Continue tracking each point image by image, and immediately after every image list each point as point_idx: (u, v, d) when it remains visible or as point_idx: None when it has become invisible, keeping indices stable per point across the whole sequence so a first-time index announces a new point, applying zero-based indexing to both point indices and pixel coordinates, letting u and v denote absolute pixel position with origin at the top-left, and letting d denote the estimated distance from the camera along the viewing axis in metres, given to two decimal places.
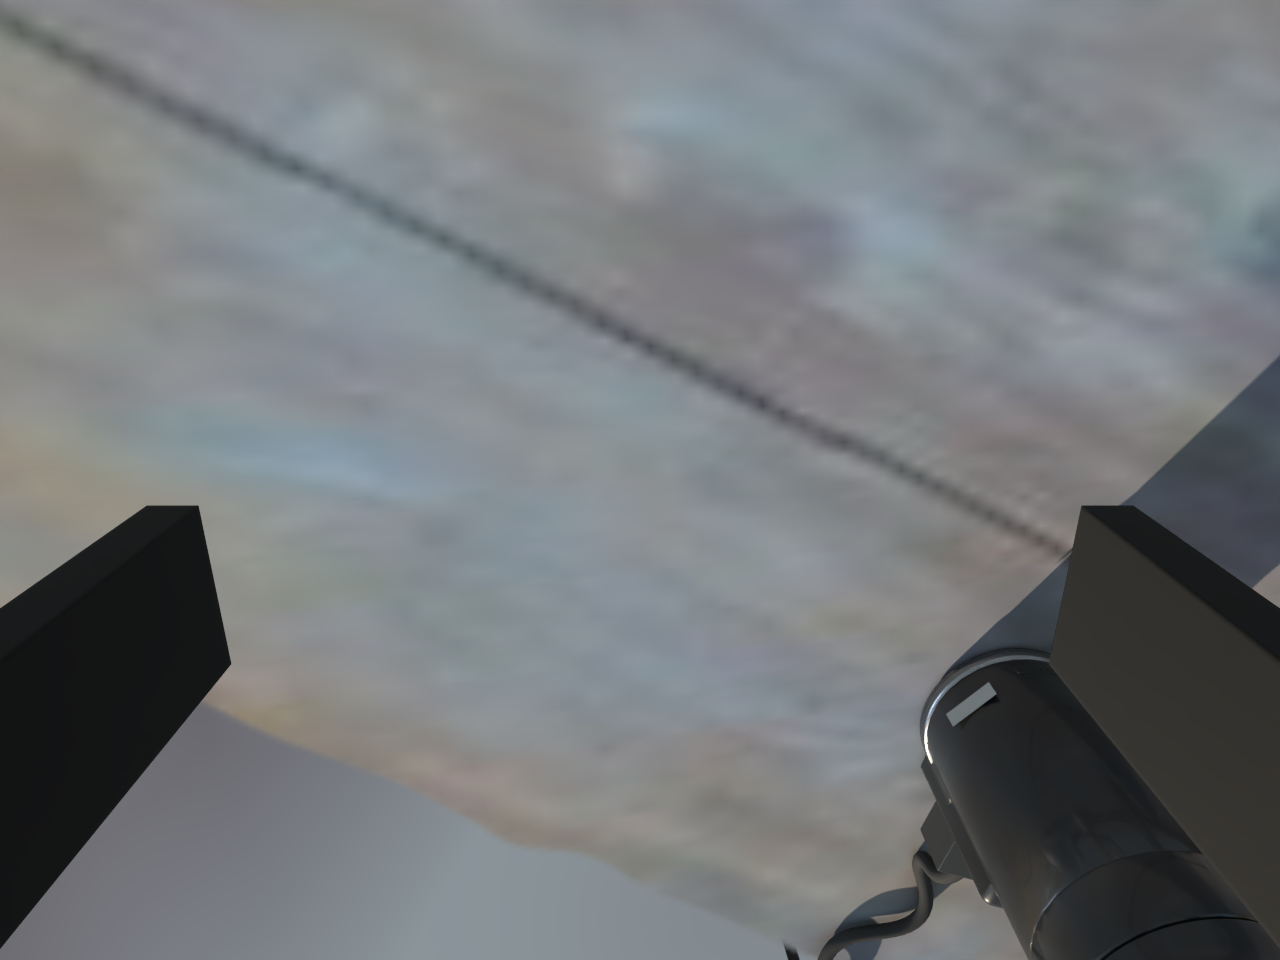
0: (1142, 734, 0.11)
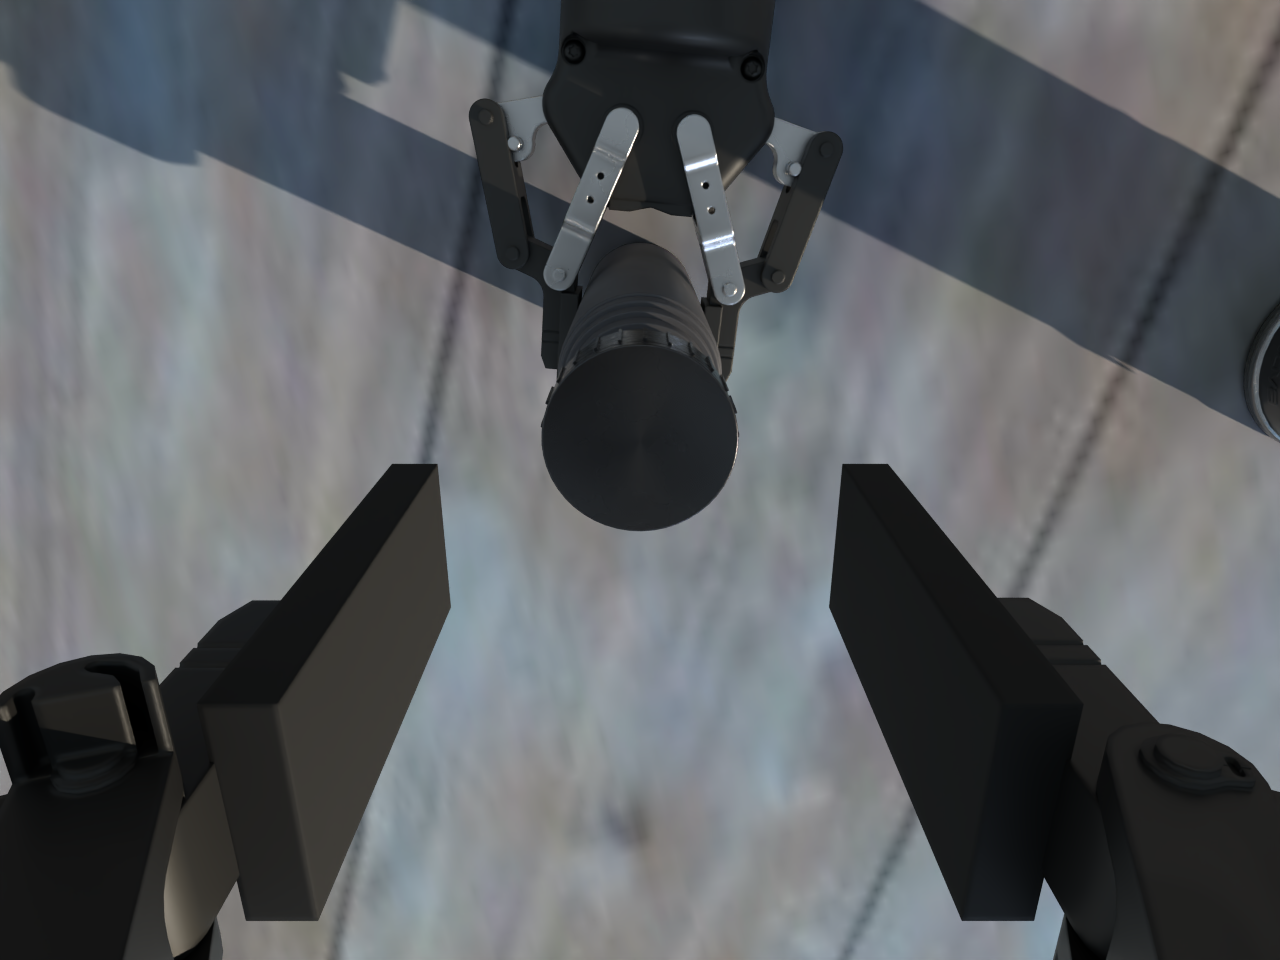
0: (866, 656, 0.12)
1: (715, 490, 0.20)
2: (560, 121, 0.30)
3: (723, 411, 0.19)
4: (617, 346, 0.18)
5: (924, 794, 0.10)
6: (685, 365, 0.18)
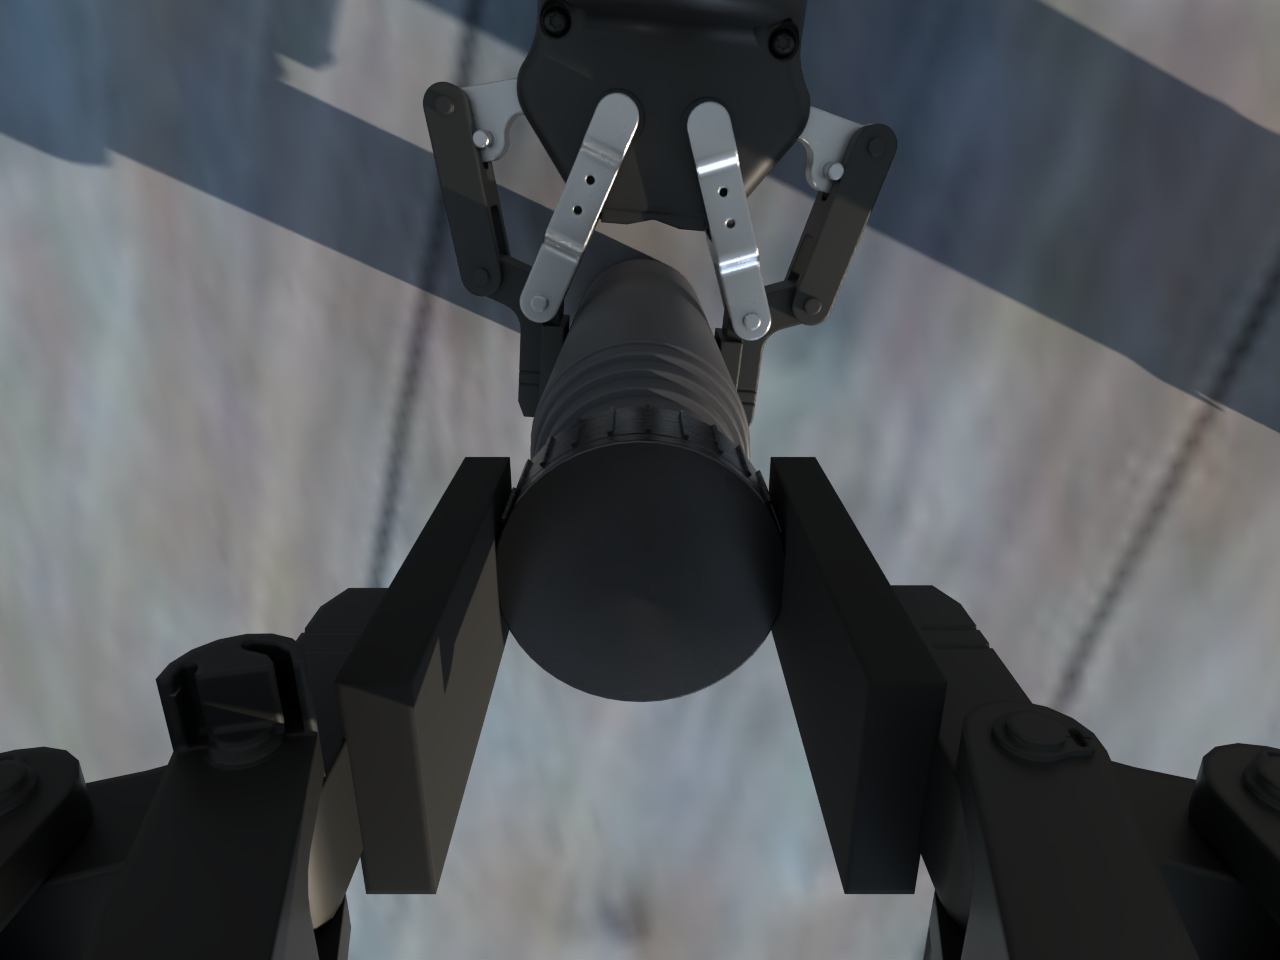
0: (785, 643, 0.13)
1: (751, 647, 0.13)
2: (539, 111, 0.24)
3: (765, 536, 0.13)
4: (606, 443, 0.12)
5: (822, 774, 0.10)
6: (709, 471, 0.12)
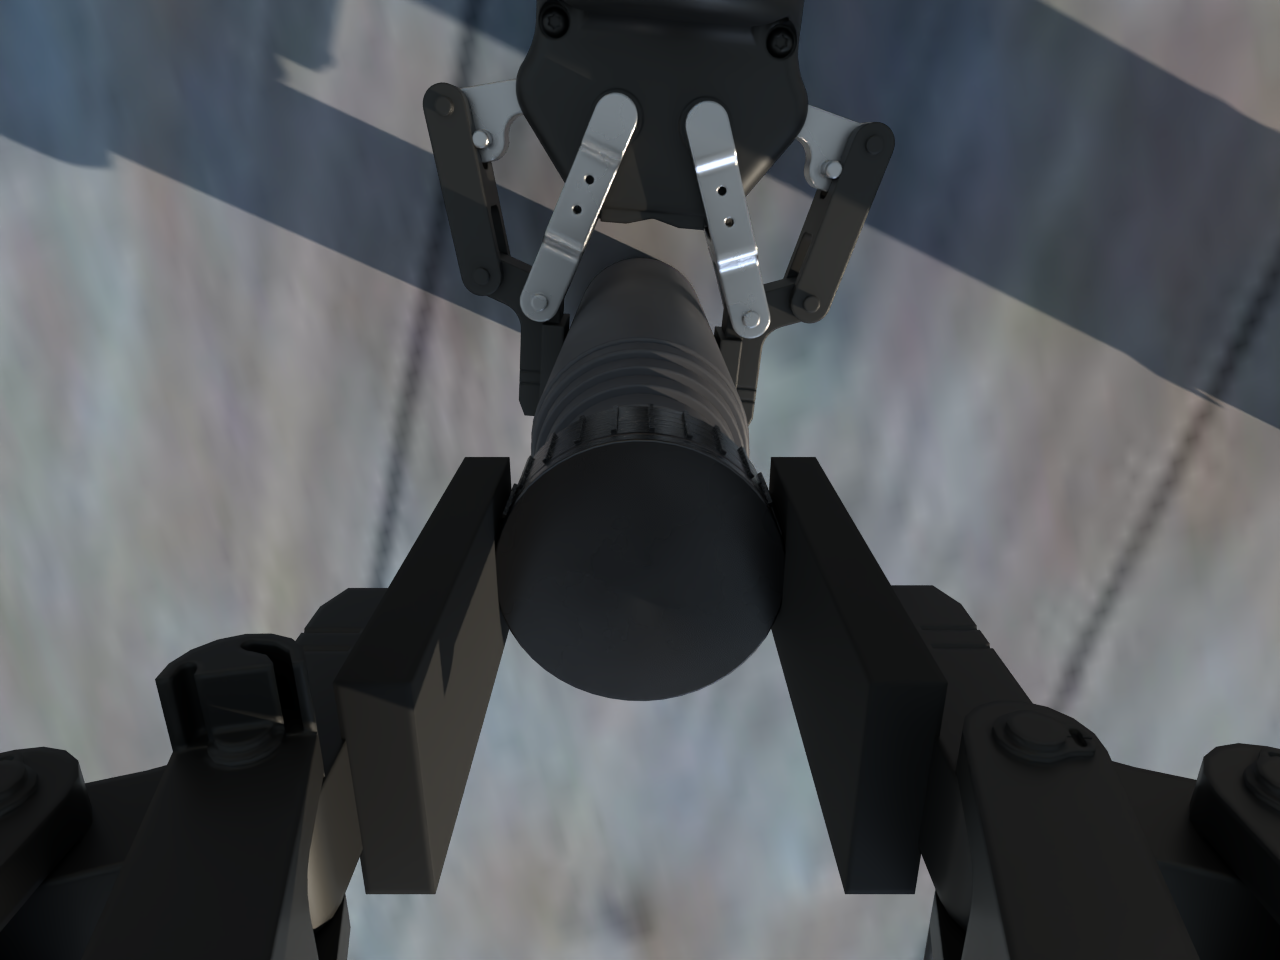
0: (786, 643, 0.13)
1: (666, 450, 0.12)
2: (538, 111, 0.24)
3: (543, 491, 0.12)
4: (527, 651, 0.13)
5: (822, 775, 0.10)
6: (506, 567, 0.13)
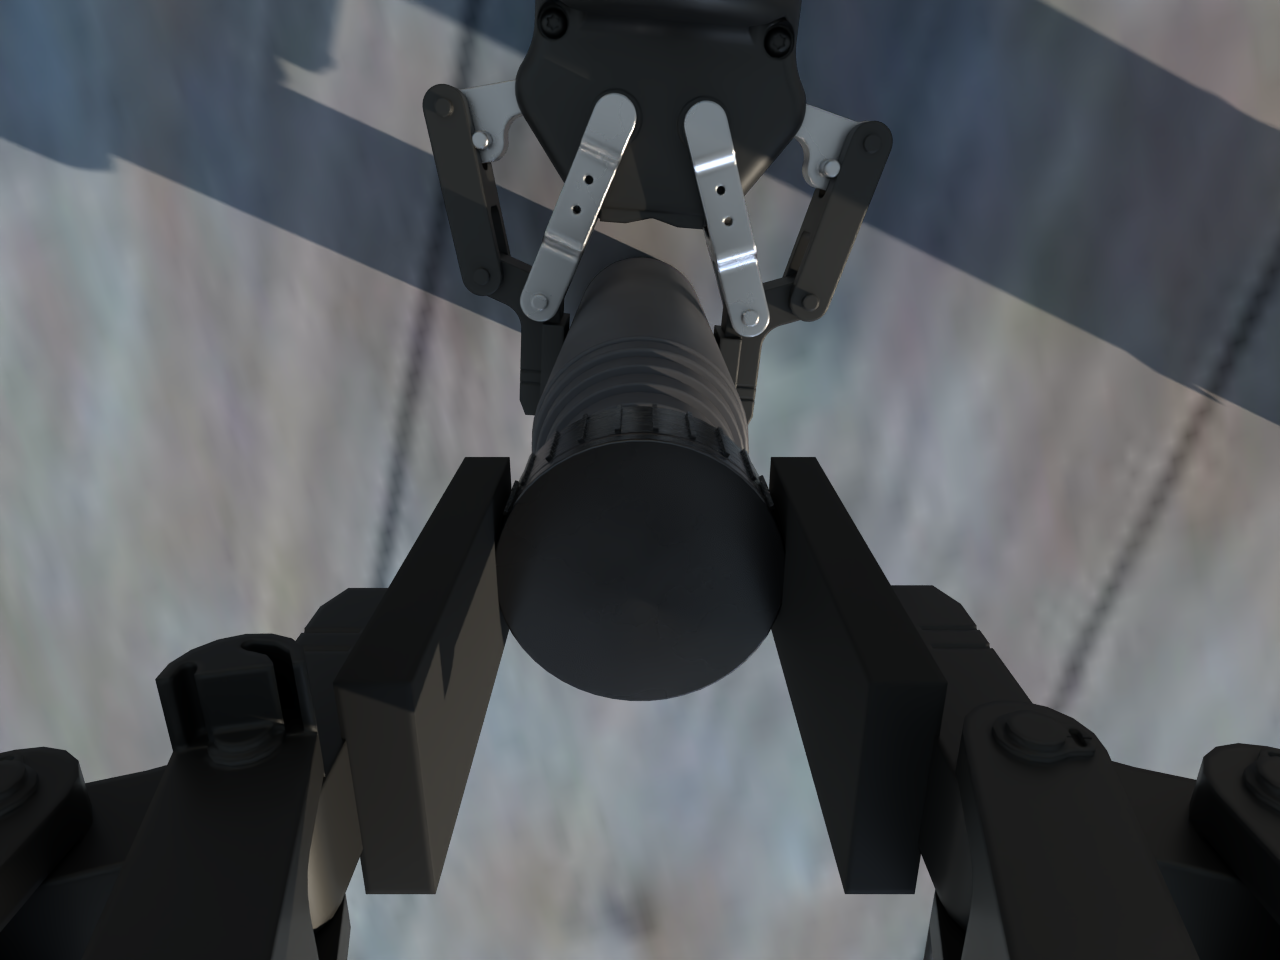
0: (786, 643, 0.13)
1: (507, 608, 0.13)
2: (537, 111, 0.24)
3: (594, 682, 0.13)
4: (762, 639, 0.13)
5: (822, 775, 0.10)
6: (679, 686, 0.13)
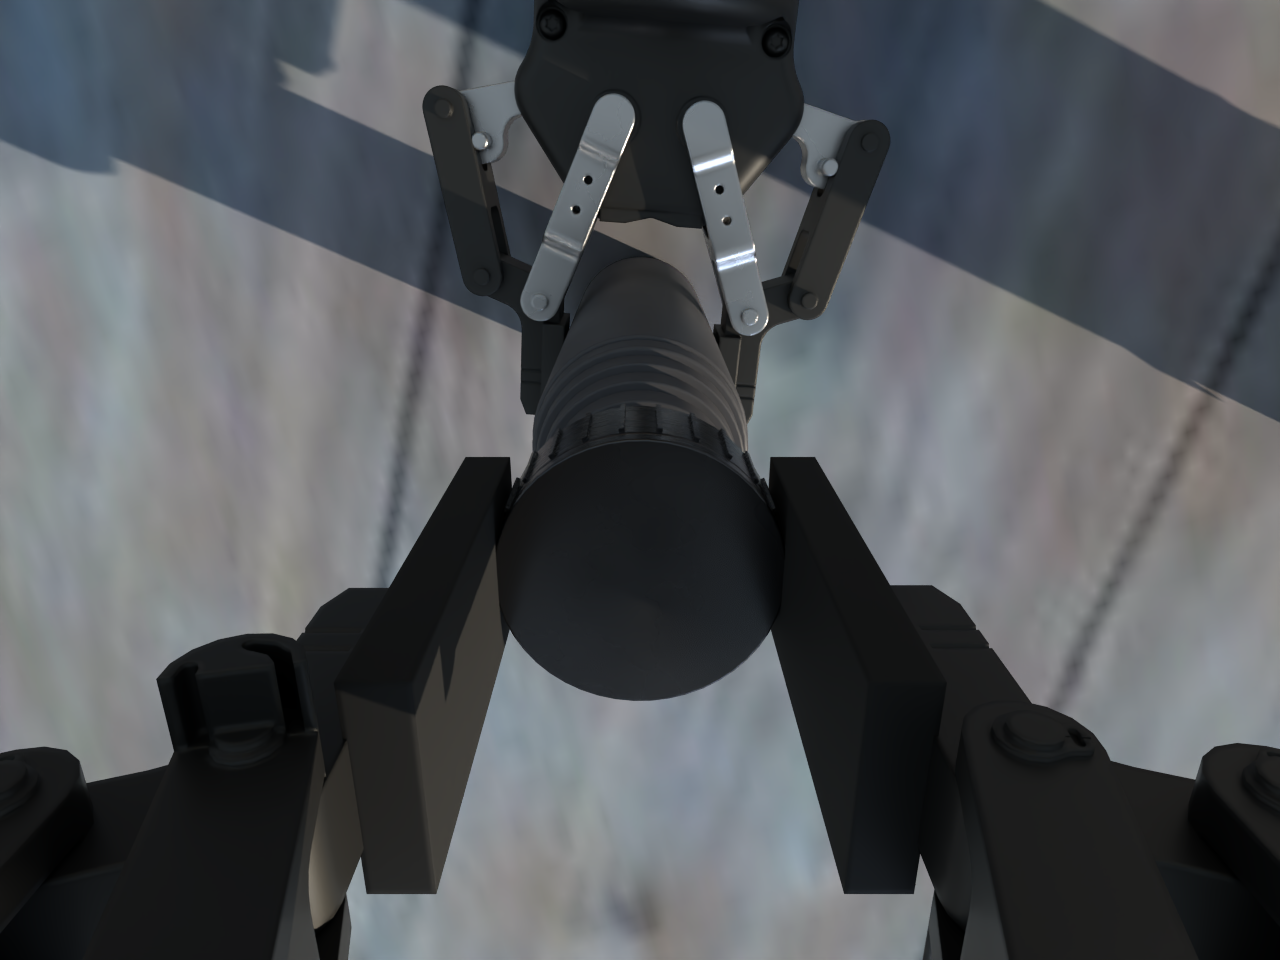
0: (785, 643, 0.13)
1: (720, 673, 0.13)
2: (537, 112, 0.24)
3: (772, 574, 0.13)
4: (656, 439, 0.12)
5: (821, 774, 0.10)
6: (743, 496, 0.12)
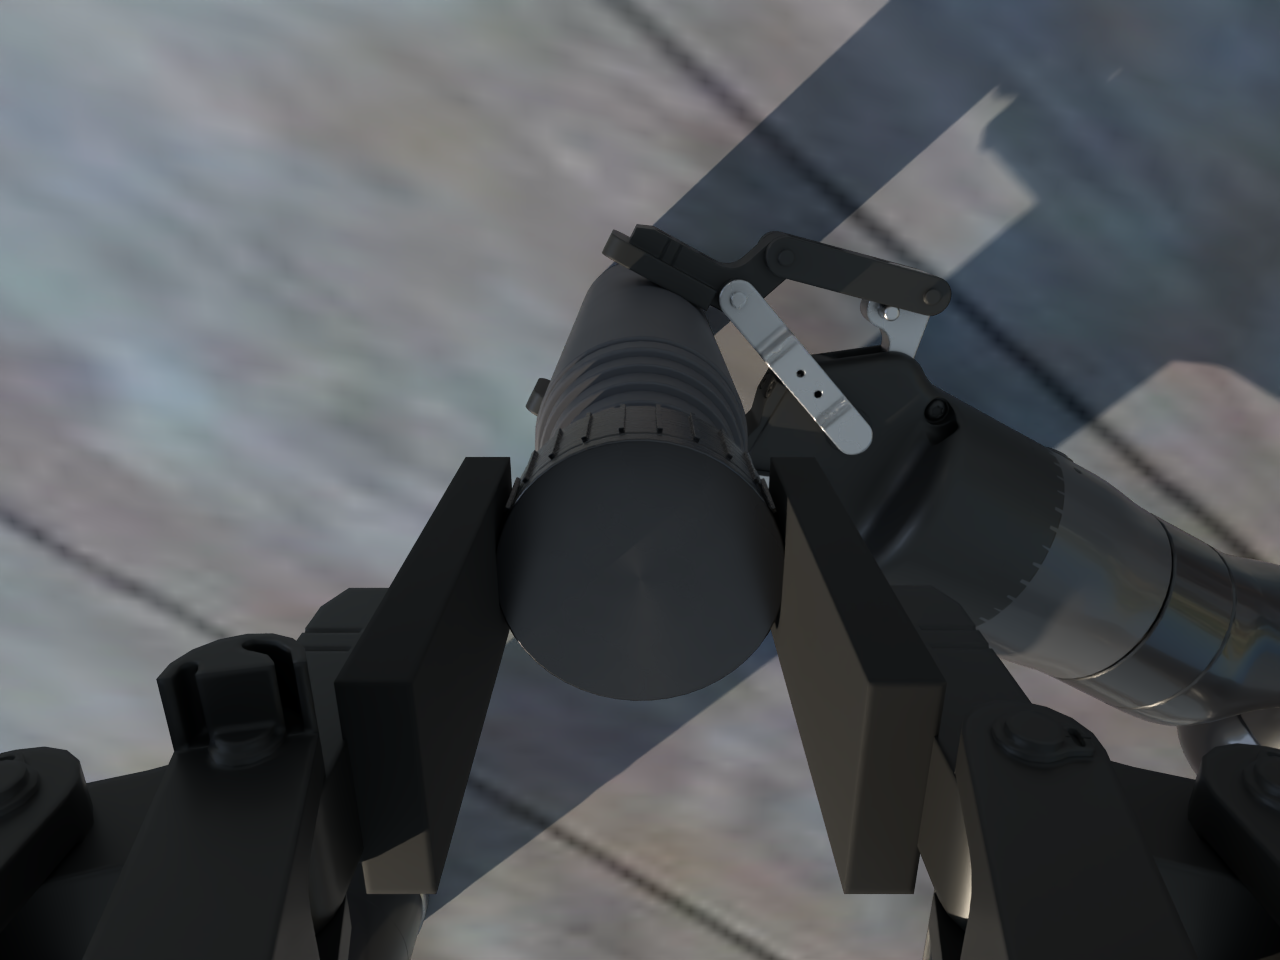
0: (785, 644, 0.13)
1: (720, 673, 0.13)
2: (885, 370, 0.27)
3: (772, 574, 0.13)
4: (656, 439, 0.12)
5: (821, 774, 0.10)
6: (743, 496, 0.12)
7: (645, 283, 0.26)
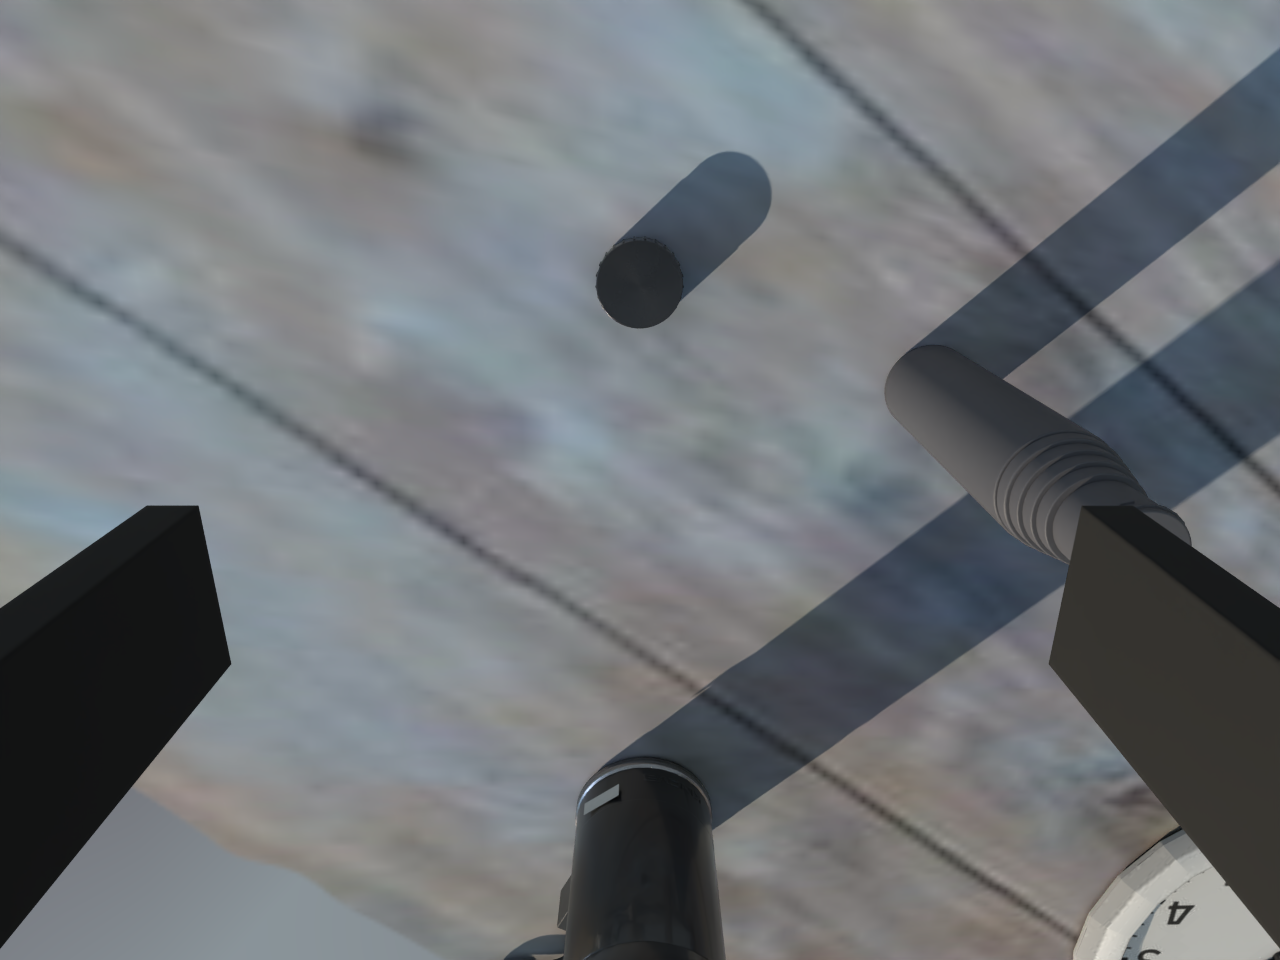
0: (1141, 734, 0.11)
1: (663, 317, 0.44)
2: None
3: (678, 283, 0.43)
4: (644, 240, 0.43)
5: None
6: (669, 258, 0.43)
7: (984, 375, 0.40)
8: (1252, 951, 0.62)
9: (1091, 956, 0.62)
